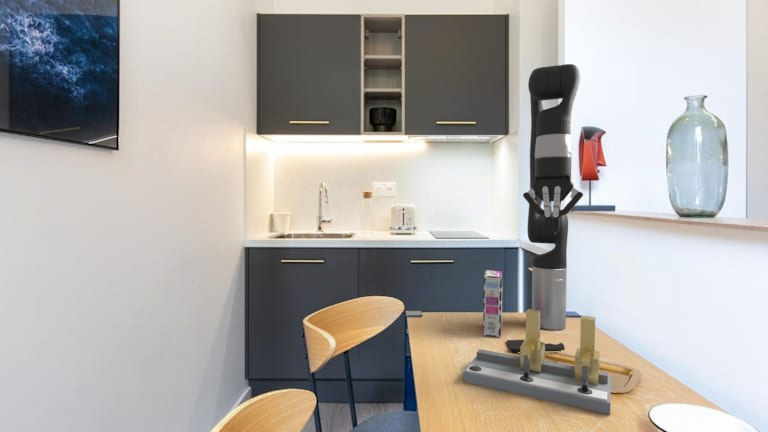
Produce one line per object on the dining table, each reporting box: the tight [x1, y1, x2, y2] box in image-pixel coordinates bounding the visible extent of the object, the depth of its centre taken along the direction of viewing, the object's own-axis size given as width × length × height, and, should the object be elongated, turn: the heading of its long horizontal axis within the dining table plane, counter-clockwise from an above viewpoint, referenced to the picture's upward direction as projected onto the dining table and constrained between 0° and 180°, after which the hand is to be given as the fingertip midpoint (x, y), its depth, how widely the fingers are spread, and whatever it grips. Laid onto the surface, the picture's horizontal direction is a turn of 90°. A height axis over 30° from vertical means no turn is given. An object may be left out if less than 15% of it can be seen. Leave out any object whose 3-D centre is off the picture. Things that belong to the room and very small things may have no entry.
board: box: [462, 349, 612, 415], centre depth 81 cm, size 12×26×4 cm, turn 61°
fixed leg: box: [574, 315, 600, 392], centre depth 76 cm, size 10×4×12 cm, turn 151°
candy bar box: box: [482, 269, 503, 339], centre depth 113 cm, size 11×5×16 cm, turn 164°
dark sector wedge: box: [506, 339, 565, 354], centre depth 100 cm, size 8×14×2 cm, turn 81°
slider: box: [519, 308, 546, 378], centre depth 81 cm, size 10×4×11 cm, turn 151°
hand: (551, 233), depth 91 cm, fingers closed
